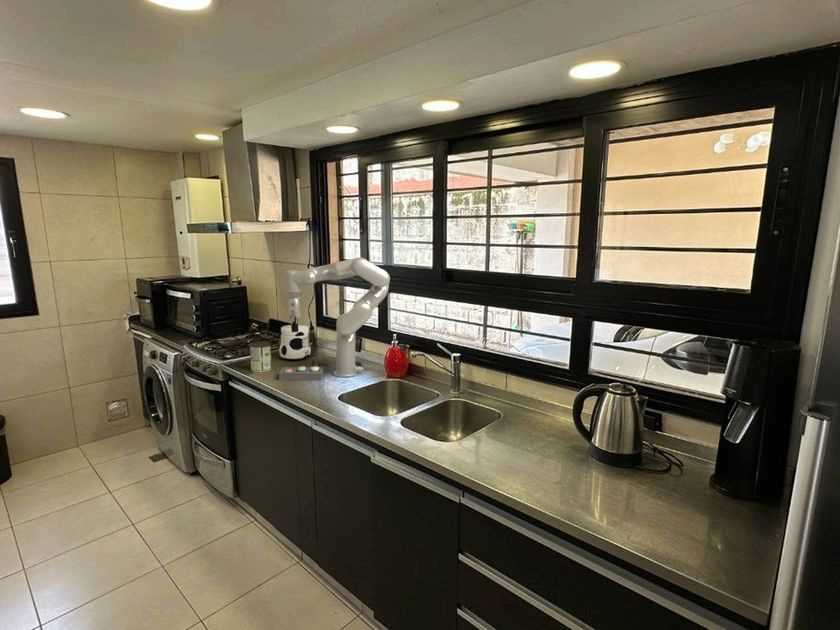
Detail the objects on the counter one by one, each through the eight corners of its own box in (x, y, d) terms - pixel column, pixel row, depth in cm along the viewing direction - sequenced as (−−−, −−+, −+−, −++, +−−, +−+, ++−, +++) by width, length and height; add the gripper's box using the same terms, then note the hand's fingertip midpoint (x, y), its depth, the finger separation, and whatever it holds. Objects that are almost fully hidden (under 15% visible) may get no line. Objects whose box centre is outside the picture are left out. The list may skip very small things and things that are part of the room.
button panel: (323, 374, 222) (323, 367, 222) (321, 380, 213) (321, 373, 213) (282, 374, 220) (282, 367, 219) (279, 380, 210) (278, 373, 210)
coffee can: (256, 365, 232) (255, 340, 229) (274, 367, 231) (274, 341, 228) (246, 371, 222) (246, 344, 219) (266, 372, 221) (265, 346, 218)
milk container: (280, 354, 255) (279, 324, 252) (310, 353, 260) (310, 324, 257) (278, 362, 239) (278, 330, 236) (311, 361, 244) (310, 330, 241)
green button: (306, 370, 218) (306, 366, 218) (305, 372, 214) (305, 368, 214) (298, 370, 218) (298, 366, 217) (296, 372, 214) (296, 368, 213)
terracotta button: (293, 372, 218) (293, 368, 217) (291, 374, 214) (291, 371, 213) (284, 372, 217) (284, 368, 217) (283, 374, 213) (283, 371, 213)
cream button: (319, 370, 219) (319, 366, 219) (318, 372, 215) (318, 368, 215) (311, 370, 219) (311, 366, 218) (310, 372, 215) (310, 368, 214)
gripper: (299, 297, 206) (301, 334, 209) (302, 293, 220) (304, 328, 224) (283, 297, 205) (285, 335, 208) (287, 293, 219) (289, 328, 222)
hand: (295, 331), depth 216 cm, fingers closed
